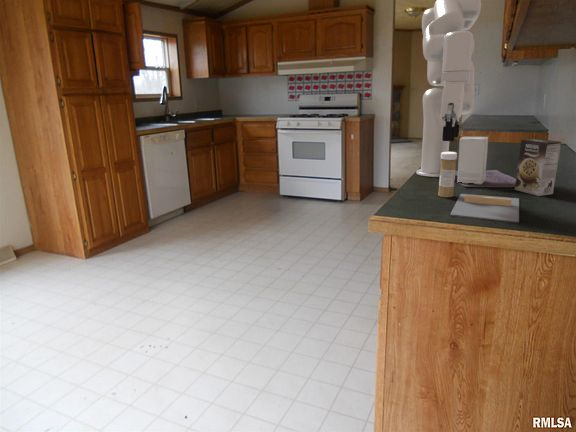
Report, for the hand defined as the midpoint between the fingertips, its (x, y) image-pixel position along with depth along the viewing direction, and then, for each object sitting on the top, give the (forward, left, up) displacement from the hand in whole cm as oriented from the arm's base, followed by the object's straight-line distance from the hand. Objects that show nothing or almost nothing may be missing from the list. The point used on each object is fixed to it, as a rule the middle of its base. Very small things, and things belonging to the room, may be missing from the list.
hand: (450, 139), depth 128 cm
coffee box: (-15, +24, -18) cm, 33 cm away
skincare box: (-23, +5, -18) cm, 30 cm away
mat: (+9, +12, -17) cm, 23 cm away
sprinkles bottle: (0, 0, -18) cm, 18 cm away
